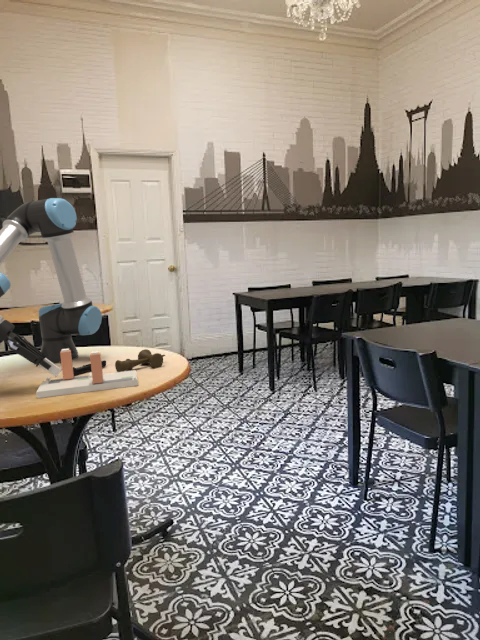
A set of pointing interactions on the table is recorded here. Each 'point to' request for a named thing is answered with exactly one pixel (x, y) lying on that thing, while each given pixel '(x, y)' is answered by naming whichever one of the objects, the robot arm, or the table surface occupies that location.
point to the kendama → (140, 361)
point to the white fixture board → (86, 384)
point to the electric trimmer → (85, 368)
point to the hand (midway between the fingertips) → (58, 373)
